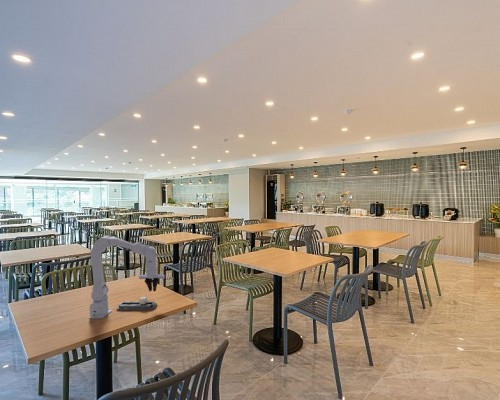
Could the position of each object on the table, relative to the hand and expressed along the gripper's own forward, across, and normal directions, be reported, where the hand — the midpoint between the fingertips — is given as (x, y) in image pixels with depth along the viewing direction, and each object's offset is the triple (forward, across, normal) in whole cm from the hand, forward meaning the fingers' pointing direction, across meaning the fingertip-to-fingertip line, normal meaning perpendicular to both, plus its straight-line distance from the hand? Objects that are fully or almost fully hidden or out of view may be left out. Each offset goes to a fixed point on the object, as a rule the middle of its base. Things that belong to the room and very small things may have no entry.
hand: (152, 290), depth 164 cm
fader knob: (+8, +6, 0) cm, 10 cm away
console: (+10, +10, 0) cm, 14 cm away
